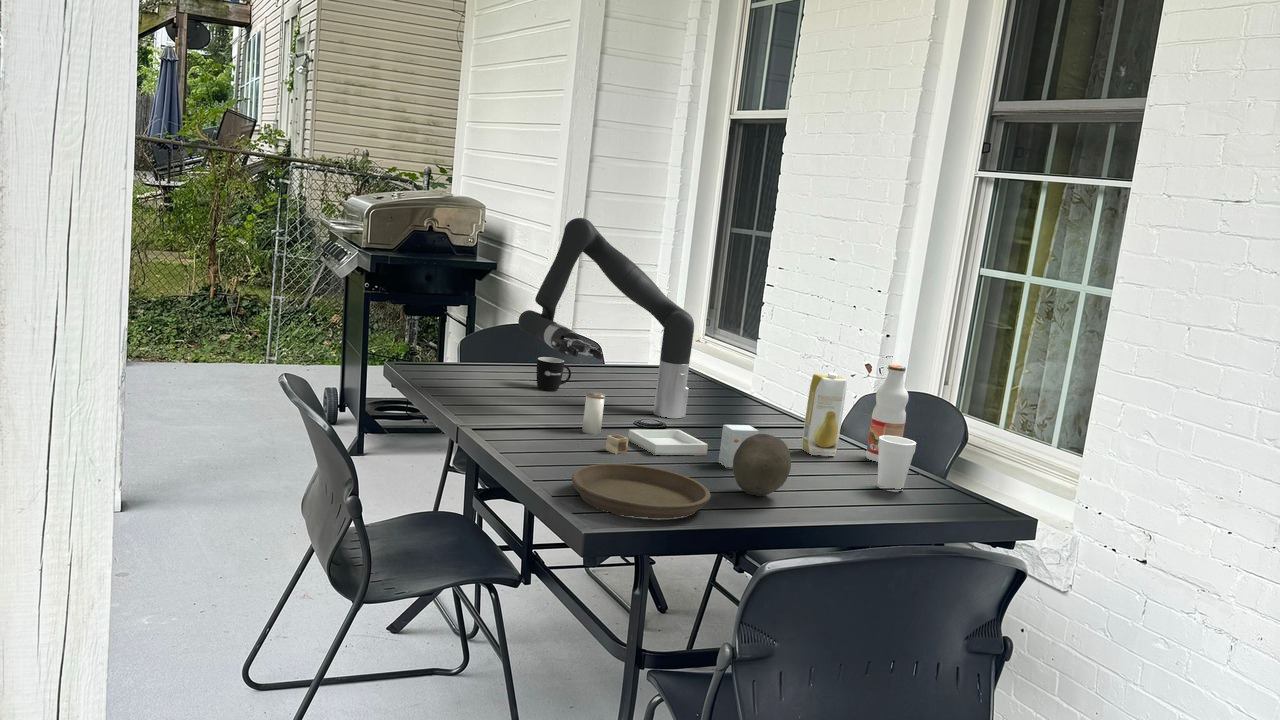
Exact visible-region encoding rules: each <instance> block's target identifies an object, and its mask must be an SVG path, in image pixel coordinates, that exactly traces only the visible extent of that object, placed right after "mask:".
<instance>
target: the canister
mask: <svg viewBox="0 0 1280 720" xmlns="http://www.w3.org/2000/svg"><path fill="white" fill-rule="evenodd" d="M605 399H606V394H605V393H602V392H598V391H587V392H586V393H585V403H584V411H583V421H582V428H581V429H582V430H581V432H582V433H585V434H587V435H588V434H589V435H600V434H601V431H602V422H603V417H604V416H603V414H604V405H605Z"/></svg>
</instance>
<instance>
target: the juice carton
mask: <svg viewBox="0 0 1280 720" xmlns="http://www.w3.org/2000/svg"><path fill="white" fill-rule="evenodd" d="M846 394H847V379H846V378H843V377H841V376H840V375H839V376H838V374H837V373H835V372H828V374H827V375H824V374H819V373H813V375H812V378H811V382H810V385H809V391H808V397H807V406H806V409H805V410H806V413H805V417H804V425H803V430H802V431H803V432H802V440H801V449H802V451H803V450H804V451H803V452H805V451H806V452H807V454H808V453H809V454H811V455H810V456H812V455H827V456H826V457H828V456H834V457H835V456H836V452H837V449H838V445H839V440H840V433H841V427H842V421H843V414H844V407H845V400H846ZM806 452H805V453H806ZM809 454H808V455H809Z"/></svg>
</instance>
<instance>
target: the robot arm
mask: <svg viewBox="0 0 1280 720" xmlns="http://www.w3.org/2000/svg"><path fill="white" fill-rule="evenodd" d="M563 231H564V232H563V236H562V239H561V242H560V244H559V248H558V251H557V254H556V256H555V258H554V260H553V262H552V264H551V266H550V268H549V270H548V271H547V274H546V276H545V277H544V280H542V281H543V282H542V284H541V286H540V288H539V289H538V292H537V293H536V296H535V298H534V299H535V302H536V303H535V304H537V305H538V306H540V307H541V308H542V312H541V313H540V312H537V311H535V310H531V309H530V310H529V309H528V310H524V311H523V312H522V313H521V314H520V315H519V318H518V327H519V328H520V330H521V331H522V332H524V333H526V334H528V335H529V336H530V335H531V336H532V337H535V338H537V339H539V340H540V341H542V342H543V343H545V344H547V345H548V346H549V347H550V348H552V349H553V350H555V351H557V352H558V353H560V354H562V355H565V356H569V355H571V356H572V357H574V358H577V357H578V354H580V355H583V356H585V357H586V356H591V357H594V358H595V359H597V360H598V361H599V360H600V361H601V360H602V359H603V356H604V353H603V352H602V347H599V346H597V345H596V344H594V343H591V342H585V341H583V340H581V339H580V337H579V334H577V332H575V331H574V330H572V329H570V328H569V327H566V326H565V325H563V324H560V323H557V322H556V321H554V320H555V314H556V310H557V307H558V304H559V301H560V300H561V297H562V295H563V294H564V291H565V289H566V287H567V284H568V282H569V279H570V277H571V273H572V271H573V269H574V267H575V264H576V263H577V261H578V259H579V258H580V256H581V255H582V253H584V254H585V255H586V256H587V257H588V258H590V259H591V260H592V261H594V263H596V265H597V266H598V267H599V269H600V270H601V271H602V272H603V274H604V275H605V277H606V278H607V279H608V280H609V282H611V283H612V285H613V286H615V287H616V288H617V290H619V291H620V292H621V293H622V294H623V295H624V296H626V298H628V299H629V300H631V301H632V302H634V303H635V304H636V305H638V306H639V307H641V308H642V309H644V310H645V311H647V312H649V314H650V315H652V316H653V317H654V318H655V319H656V320H657V321H658V323H660V325H661V327H663V334H662V341H661V347H660V349H661V350H660V356H659V357H660V358H659V365H658V374H657V382H656V389H655V398H654V405H653V415H654V416H657V417H660V416H661V418H665V417H667V418H666V419H680V418H685V417H686V413H687V412H686V411H687V405H688V397H689V396H688V395H689V389H690V388H689V387H688V386H687V385H688V375H689V370H690V369H689V368H690V360H691V357H692V356H691V355H692V348H693V340H694V331H695V323H694V319H693V317H692V315H691V314H690V313H689V312H687V311H686V310H684V309H683V308H681V307H680V306H679V305H677V304H676V302H674V301H673V300H671V299H670V298H669V297H668V296H667V295H665V293H664V292H663V291H662V290H661V289H660V288H659V287H658V285H657V284H656V283H655V282H654V281H653V280H652V279H651V278H650V277H649V276H648V275H647V273H646V272H644V270H642V269H641V268H640V267H639V266H638V265H636V263H634V262H633V261H632V260H631V259H629V258H628V257H627V256H626V255H625V254H623V253H622V252H621V251H619V250H618V249H617V248H616V247H614V246H613V245H612V244H610V243H609V241H607V239H606V238H605V237H604V236H603V235H602V234H601V233H600V231H598V229H597V228H596V227H595V226H594V224H593V223H592V222H591V221H590V220H588V219H587V218H584V217H576V218H572V219H571V220H569V221H568V222H567V224H566V225H565V227H564V230H563Z"/></svg>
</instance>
